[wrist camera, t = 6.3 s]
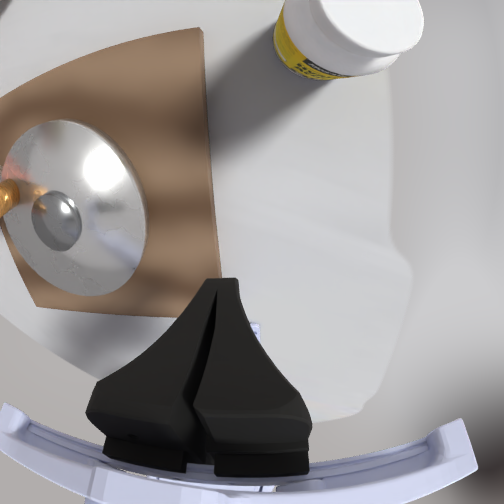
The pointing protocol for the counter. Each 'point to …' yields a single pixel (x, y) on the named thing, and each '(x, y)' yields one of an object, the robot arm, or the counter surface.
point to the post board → (136, 162)
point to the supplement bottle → (345, 36)
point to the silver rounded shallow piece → (74, 207)
